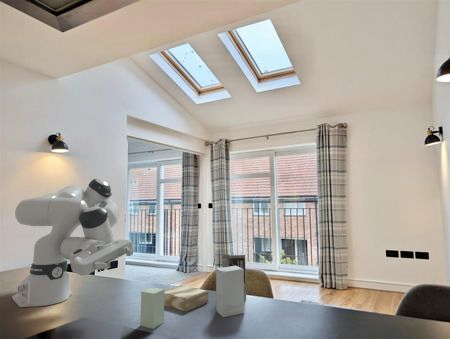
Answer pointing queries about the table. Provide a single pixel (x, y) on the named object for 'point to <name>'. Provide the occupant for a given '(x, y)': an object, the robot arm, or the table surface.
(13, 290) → the table surface
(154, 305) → the sage block
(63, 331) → the table surface
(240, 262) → the coffee box
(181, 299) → the oak box
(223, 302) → the skincare box
